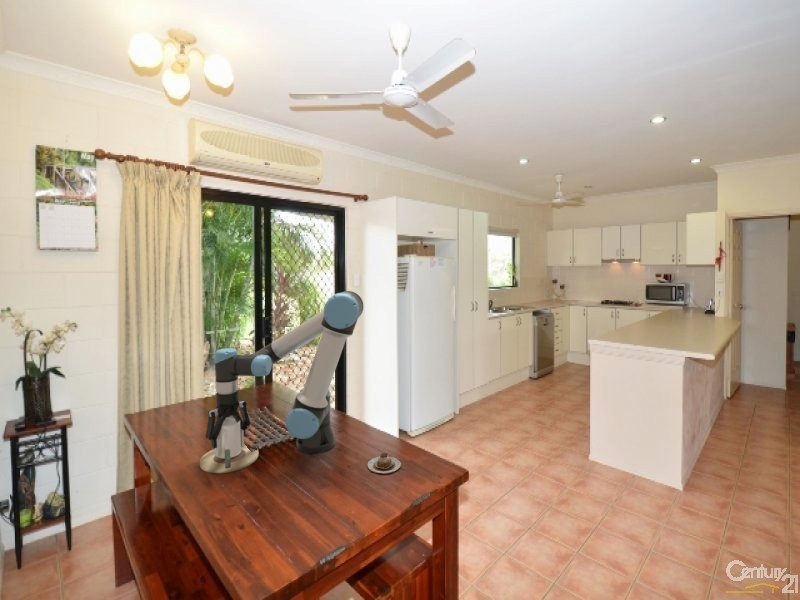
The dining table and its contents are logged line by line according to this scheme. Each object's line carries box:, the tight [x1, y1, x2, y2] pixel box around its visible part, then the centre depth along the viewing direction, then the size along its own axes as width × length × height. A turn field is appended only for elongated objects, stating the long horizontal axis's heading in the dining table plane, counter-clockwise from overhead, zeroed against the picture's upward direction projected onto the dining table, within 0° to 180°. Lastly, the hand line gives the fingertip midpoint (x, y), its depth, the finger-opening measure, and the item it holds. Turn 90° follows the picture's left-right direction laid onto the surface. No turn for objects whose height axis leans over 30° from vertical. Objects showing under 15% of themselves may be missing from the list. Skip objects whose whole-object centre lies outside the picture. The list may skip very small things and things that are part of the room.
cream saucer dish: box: [199, 443, 260, 474], centre depth 146 cm, size 20×20×7 cm
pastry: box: [367, 452, 402, 475], centre depth 141 cm, size 12×12×5 cm
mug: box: [218, 417, 242, 458], centre depth 144 cm, size 12×8×12 cm
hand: (229, 450), depth 145 cm, fingers closed on mug, 9 cm apart
